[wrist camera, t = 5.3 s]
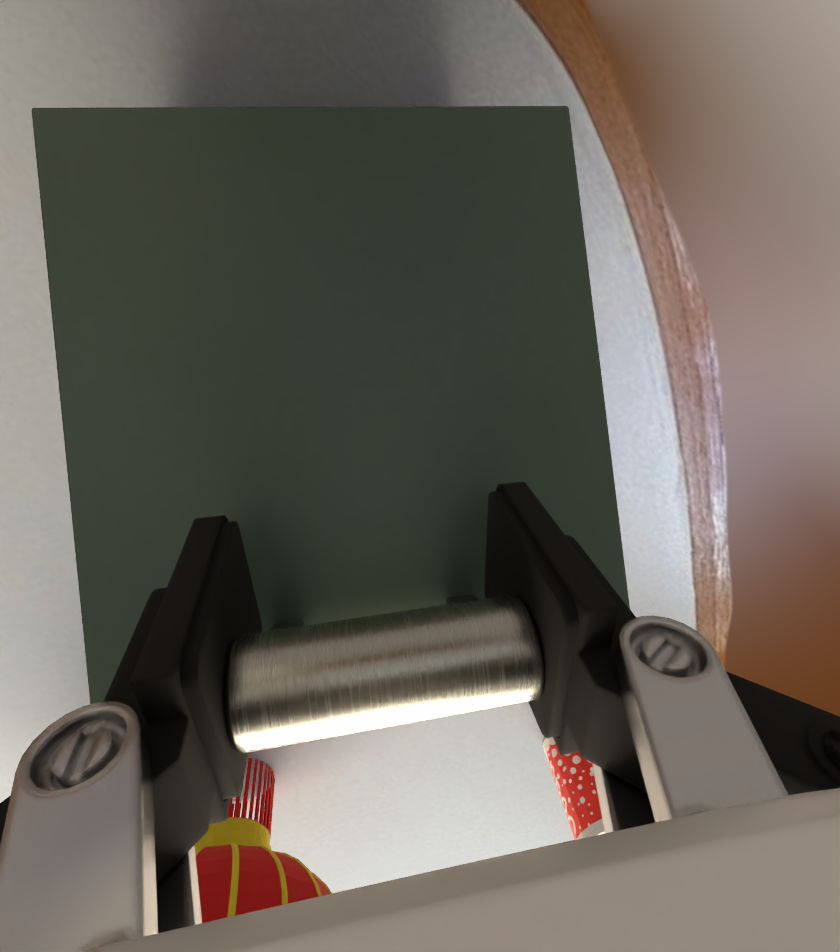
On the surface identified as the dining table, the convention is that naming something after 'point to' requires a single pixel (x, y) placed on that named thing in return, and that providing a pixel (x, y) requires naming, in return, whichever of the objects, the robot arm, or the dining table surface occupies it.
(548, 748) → the beverage cup
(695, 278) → the dining table surface
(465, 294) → the bin lid
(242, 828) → the lantern
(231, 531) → the robot arm
